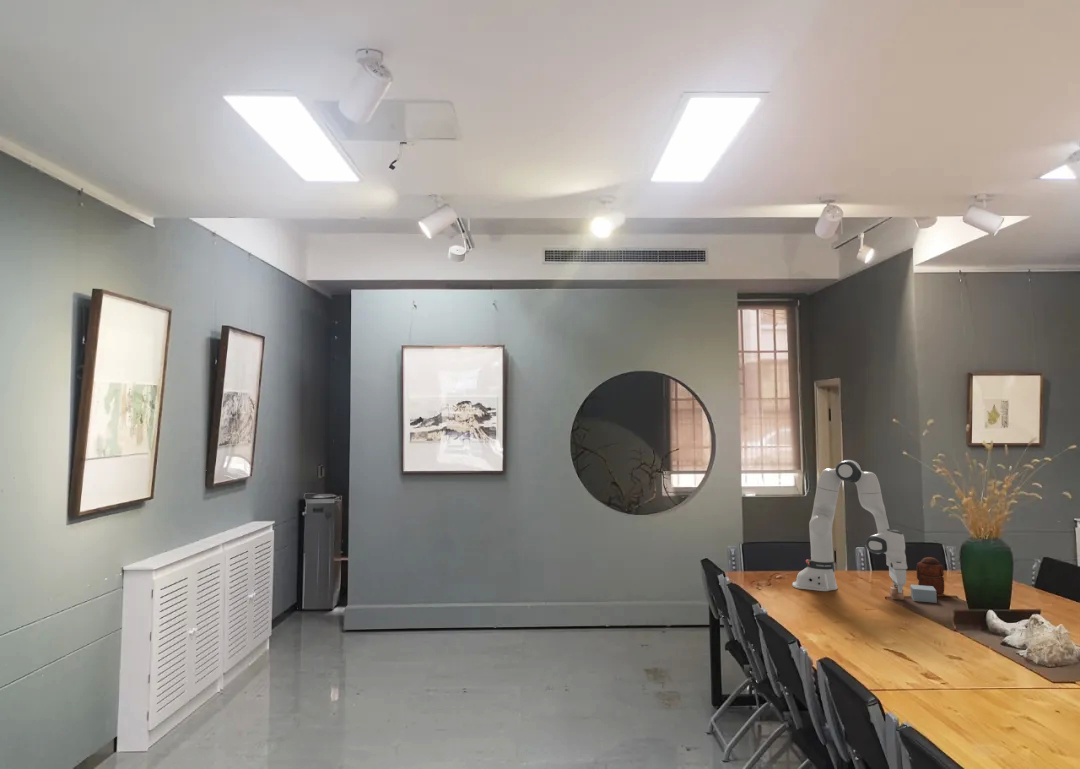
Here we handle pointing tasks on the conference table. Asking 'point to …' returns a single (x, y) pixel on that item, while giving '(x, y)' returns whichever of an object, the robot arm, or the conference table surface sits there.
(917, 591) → the slate base block
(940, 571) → the wooden figurine
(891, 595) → the terracotta cube
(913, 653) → the conference table surface
